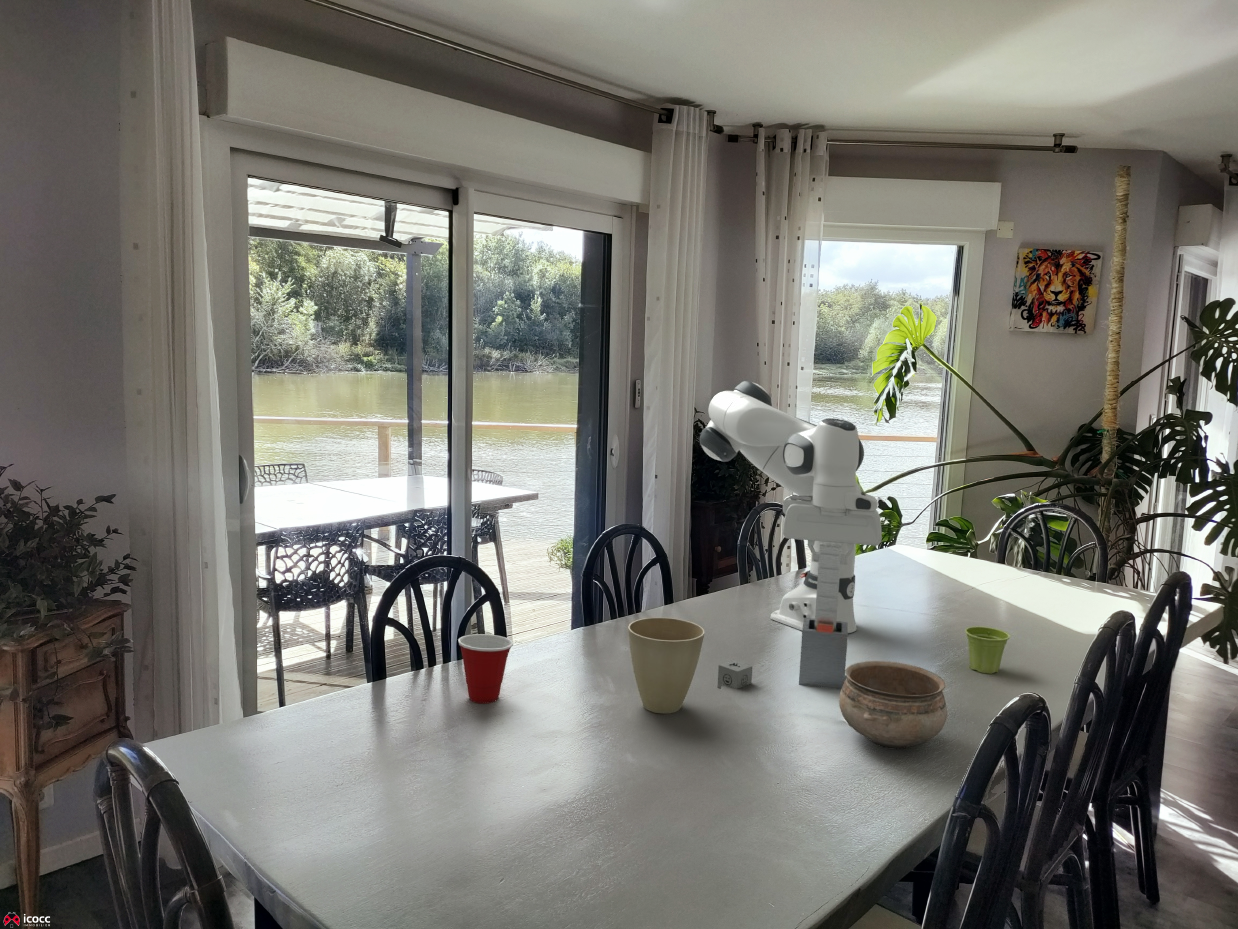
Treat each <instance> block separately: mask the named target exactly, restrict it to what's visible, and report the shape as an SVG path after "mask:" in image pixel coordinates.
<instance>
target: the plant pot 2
mask: <svg viewBox="0 0 1238 929" xmlns="http://www.w3.org/2000/svg"><path fill="white" fill-rule="evenodd" d="M964 632H965V633H966V639H967V641H968V656H969V659H968V660H969V668H970V669H972V670H975V671H976V672H978V673H981V674H994V673H999V669H1000V666H1001V662H1002V658H1003V657H1002V656H1003V653H1004V650H1005V646H1006V645H1007V643H1008V640H1009V639H1010V637H1011V636H1010V634H1009V633H1007V632H1006V631H1003V630H1001V629H998V628H993V627H988V626H987V627H986V626H969V627H967V628H965V630H964Z"/></svg>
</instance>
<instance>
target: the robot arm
mask: <svg viewBox="0 0 1238 929" xmlns="http://www.w3.org/2000/svg"><path fill="white" fill-rule="evenodd" d="M768 393H769V392H768V391H767V390H766V389H765V388H764V387H763V386H761V385H760V384H758V383H756V382H753V381H750V380H743V381H742V382H740V383H738V385H737V386H735V387H734V388H733V390H724V391H720V392H718V393H717V394H715V395H714V396H713V398H712V399H711V400H710V402H709V405H708V412H707V413H708V416H709V419H710V420H709V422H708V423H707V425H706V426H705V428H703V430H702V431H701V433H700V435H699V446H701V448H702V450H703V451H704V453H705V454H706V455H708V457H710V458H712V459H714V460H717V461H721V462H723V463H725V462H729V461H731V460H732V459H733V458H735V457H736V456H737V455H738V452H740V453H741V454H742V455H743V456H744V457H745V458H746V459H747V460H748V461H749V462H750V463H751V464H752V465H753V466H755V467H756V468H757V469H758V470H759V471H761V472H762V473H764V474H765V475H766V476H768V477H769V478H771V479H772V480H773V481H775V482H776V483H777V484H778V485H780V486H781V487H783V489H785V490H787V491H788V492H792V493H793V494H790V496H787V497H785V498H784V499H783V501H782V512H783V515H784V520H783V525H782V526H783V527H782V535H783V536H784V538H785V539H790V540H791V539H792V540H802V541H807V546H808V549H809V552H811V553H810V555H811V556H810V567H809V570H807V571H805V572H802V573H800V575H801V576H800V579H802V578H804V580H803V583H802V584H800V585H798V586H797V587H794V588H793V589H792V590H790V591H789V592H786V593H785V594H784V595H783V597H782V599H781V601H780V605H779V609H777V610H774V611H773V612H772V613H771V614H770V617H769V618H770V620H772V621H773V620H774V621H775V622H778V623H781V624H784V625H787V626H789V627H792V628H794V629H797V630H800V631H802V628H803V622H804V618H812V619H815V611H816V595H817V580H818V565H819V549H820V542H826V543H838V544H842V545H841V562H840V577H839V591H838V606H837V621H841V622H848V634H850V633H853V632H855V631H857V624H856V623H857V622H856V619H855V611H854V597H855V590H856V589H855V588H856V575H855V562H856V550H857V549H856V548H857V545H863V546H875V547H877V546H879V545H880V543H881V542H882V538H883V537H882V534H883V533H882V531H883V530H882V520H881V515H880V513H879V511H878V510H877V509H878V499H877V498H876V496H873V495H870V494H867V493H865V492H863V491H862V489H861V486H860V484H859V483H858V482H857V478H856V476H857V475H856V473H857V471H858V470H859V468H860V467H861V465H862V463H863V462H864V457H865V449H864V448H865V447H864V445H863V443H862V441H861V440H860V437H859V433H858V432H859V431H858V428H857V426H856V425H855V424H854V423H853V422H850V421H848V420H845V419H839V418H832V417H831V418H825V419H821V420H820V421H819V422H818V424H815V423H812V422H809V421H807V420H804V419H801V418H799V417H795V416H793V415H791V414H789V413H787V412H785V411H782V410H781V409H777V408H775V407H773V404H772V397H771V396H770V394H768Z"/></svg>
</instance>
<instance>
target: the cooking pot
mask: <svg viewBox="0 0 1238 929" xmlns="http://www.w3.org/2000/svg"><path fill="white" fill-rule="evenodd" d="M845 677H846V678H845V681H844V684H843V687H842V689H841V690H840V693H839V697H838V699H839V700H838V706H839V709H840V713H841V714H842V717H843V718H844V720H845V722H846V723H847V724H848V725H849V727H850V728H851V729H853V730H854V731H855V732H856V733H858V734H859V735H860V736H863V737H864V738H866V739H867V740H869V741H870V742H872V743H873V744H875V745H877V746H878V747H881V748H884V749H889V750H902V749H907V748H909V747H914V746H916V745H920V744H923V743H926V742H928V741H930V740H932V739H933V738H935V737H936V736H937V735H938V734H940V733H941V731H942V730H943V728H944V727H945V725H946V722H947V719H948V707H947V706H948V705H947V702H946V698H945V694H944V692H943V690H945V688H946V682H945V681H944V679H943V678H942V677H941V676H939V675H938V674H936V673H934V672H932V671H930V670H929V669H925V668H922V667H920V666H915V665H912V664H907V663H903V662H897V661H888V660H887V661H885V660H866V661H860V662H856V663H852V664H850V665H849V666H847V667H845Z"/></svg>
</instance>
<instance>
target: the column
mask: <svg viewBox="0 0 1238 929" xmlns="http://www.w3.org/2000/svg"><path fill="white" fill-rule="evenodd" d="M841 545H842V544H838V543H826V542H820V549H819V565H818V580H817V595H816V611H815V626H814V630H817V624H818V623H820V624H829V625H833V632H836V621H837V606H838V591H839V577H840V562H841Z"/></svg>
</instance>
